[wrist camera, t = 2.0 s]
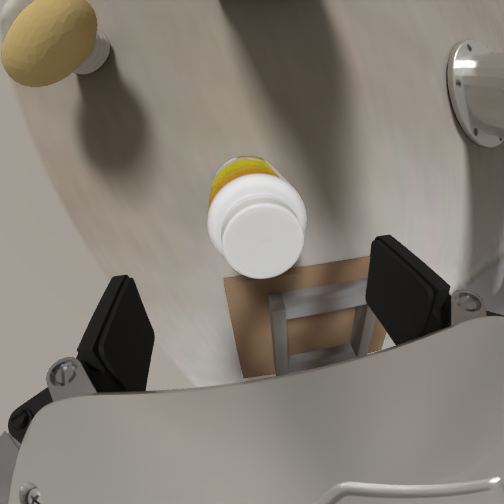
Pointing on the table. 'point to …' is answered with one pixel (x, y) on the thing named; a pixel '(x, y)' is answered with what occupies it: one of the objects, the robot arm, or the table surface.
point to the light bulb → (53, 42)
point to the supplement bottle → (255, 218)
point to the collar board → (303, 318)
